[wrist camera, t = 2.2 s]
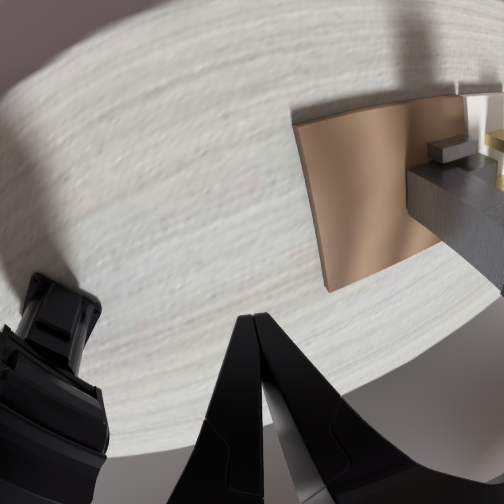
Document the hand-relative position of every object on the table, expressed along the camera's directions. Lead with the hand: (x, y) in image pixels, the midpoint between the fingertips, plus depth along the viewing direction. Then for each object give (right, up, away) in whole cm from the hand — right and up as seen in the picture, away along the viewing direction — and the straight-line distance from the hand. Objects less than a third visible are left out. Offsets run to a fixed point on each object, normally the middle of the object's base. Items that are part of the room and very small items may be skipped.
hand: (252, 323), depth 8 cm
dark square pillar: (+17, +8, +13) cm, 23 cm away
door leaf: (+12, +7, +13) cm, 19 cm away
